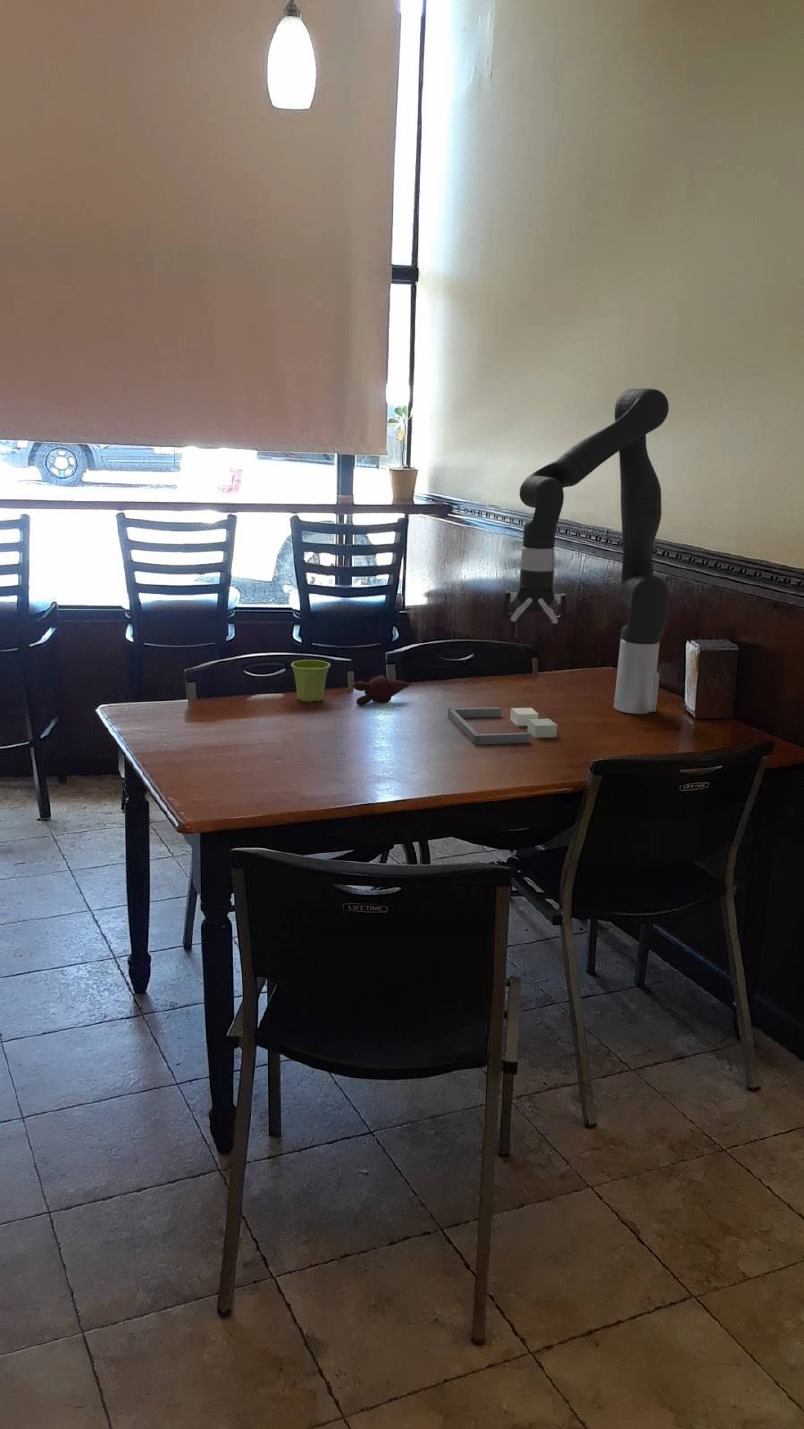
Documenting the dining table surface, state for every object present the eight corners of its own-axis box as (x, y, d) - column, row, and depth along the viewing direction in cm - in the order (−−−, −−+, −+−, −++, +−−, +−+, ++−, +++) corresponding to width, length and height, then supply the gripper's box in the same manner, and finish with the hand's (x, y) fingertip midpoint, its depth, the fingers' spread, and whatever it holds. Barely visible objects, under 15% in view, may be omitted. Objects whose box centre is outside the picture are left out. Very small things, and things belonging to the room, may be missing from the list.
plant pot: (284, 701, 266) (284, 666, 264) (299, 692, 275) (299, 657, 272) (321, 706, 264) (321, 670, 261) (335, 696, 272) (335, 662, 270)
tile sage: (548, 731, 253) (549, 718, 252) (556, 738, 248) (557, 725, 247) (527, 732, 251) (528, 719, 251) (534, 738, 247) (535, 725, 246)
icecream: (400, 669, 275) (346, 680, 268) (414, 669, 268) (359, 680, 261) (405, 697, 275) (350, 708, 269) (419, 697, 269) (364, 709, 262)
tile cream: (530, 720, 261) (531, 707, 260) (537, 726, 256) (538, 713, 255) (510, 720, 260) (511, 708, 259) (516, 726, 255) (517, 714, 254)
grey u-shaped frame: (499, 715, 262) (499, 707, 262) (529, 742, 243) (530, 733, 242) (448, 716, 259) (448, 708, 259) (474, 744, 240) (475, 735, 239)
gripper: (569, 566, 253) (564, 636, 257) (506, 563, 255) (503, 632, 259) (569, 571, 246) (564, 643, 250) (504, 568, 248) (501, 639, 252)
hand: (533, 637), depth 255 cm, fingers open, 8 cm apart
